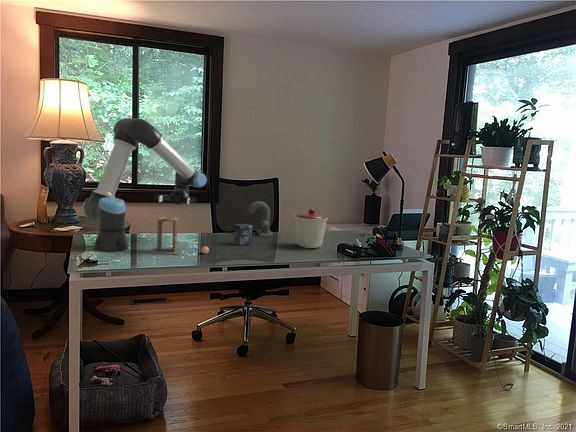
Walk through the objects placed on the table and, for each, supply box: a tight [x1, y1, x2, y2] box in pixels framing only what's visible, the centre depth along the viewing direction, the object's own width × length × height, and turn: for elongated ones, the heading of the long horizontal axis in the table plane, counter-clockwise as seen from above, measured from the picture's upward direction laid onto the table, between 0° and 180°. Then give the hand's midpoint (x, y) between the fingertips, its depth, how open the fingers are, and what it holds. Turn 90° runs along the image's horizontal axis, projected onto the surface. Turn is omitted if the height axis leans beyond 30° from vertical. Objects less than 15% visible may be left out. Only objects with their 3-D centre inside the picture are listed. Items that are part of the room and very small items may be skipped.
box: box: [233, 223, 253, 246], centre depth 264 cm, size 8×6×11 cm
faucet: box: [246, 200, 275, 238], centre depth 297 cm, size 18×16×20 cm
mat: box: [150, 246, 183, 256], centre depth 236 cm, size 13×13×1 cm
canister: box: [294, 207, 329, 249], centre depth 268 cm, size 18×18×21 cm
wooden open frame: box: [156, 216, 179, 252], centre depth 235 cm, size 8×8×16 cm
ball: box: [201, 246, 210, 255], centre depth 236 cm, size 4×4×4 cm
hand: (173, 200), depth 244 cm, fingers open, 13 cm apart
